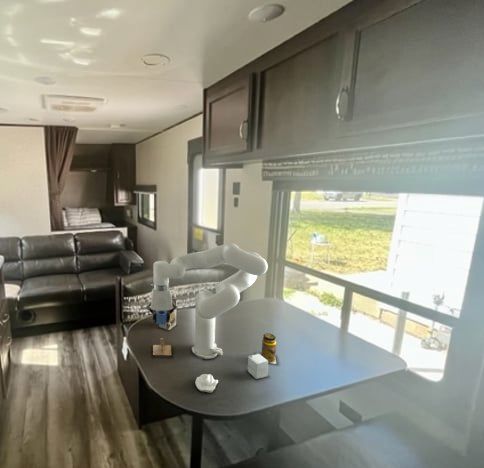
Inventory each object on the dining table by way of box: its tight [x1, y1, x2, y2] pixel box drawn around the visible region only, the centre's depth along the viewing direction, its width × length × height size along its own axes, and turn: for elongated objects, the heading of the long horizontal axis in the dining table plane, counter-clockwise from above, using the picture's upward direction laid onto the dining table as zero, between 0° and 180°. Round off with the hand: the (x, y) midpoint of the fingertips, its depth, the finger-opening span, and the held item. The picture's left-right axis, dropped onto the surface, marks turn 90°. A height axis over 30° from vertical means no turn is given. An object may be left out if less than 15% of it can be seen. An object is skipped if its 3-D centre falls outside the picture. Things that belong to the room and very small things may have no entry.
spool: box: [155, 310, 167, 325], centre depth 147 cm, size 6×6×5 cm
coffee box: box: [158, 298, 177, 331], centre depth 174 cm, size 9×6×16 cm
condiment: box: [255, 332, 277, 365], centre depth 141 cm, size 7×8×12 cm
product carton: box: [247, 353, 269, 380], centre depth 131 cm, size 6×6×7 cm
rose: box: [194, 373, 219, 393], centre depth 124 cm, size 10×4×10 cm
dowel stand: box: [152, 337, 172, 356], centre depth 148 cm, size 9×9×7 cm
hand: (161, 320), depth 148 cm, fingers closed on spool, 5 cm apart
